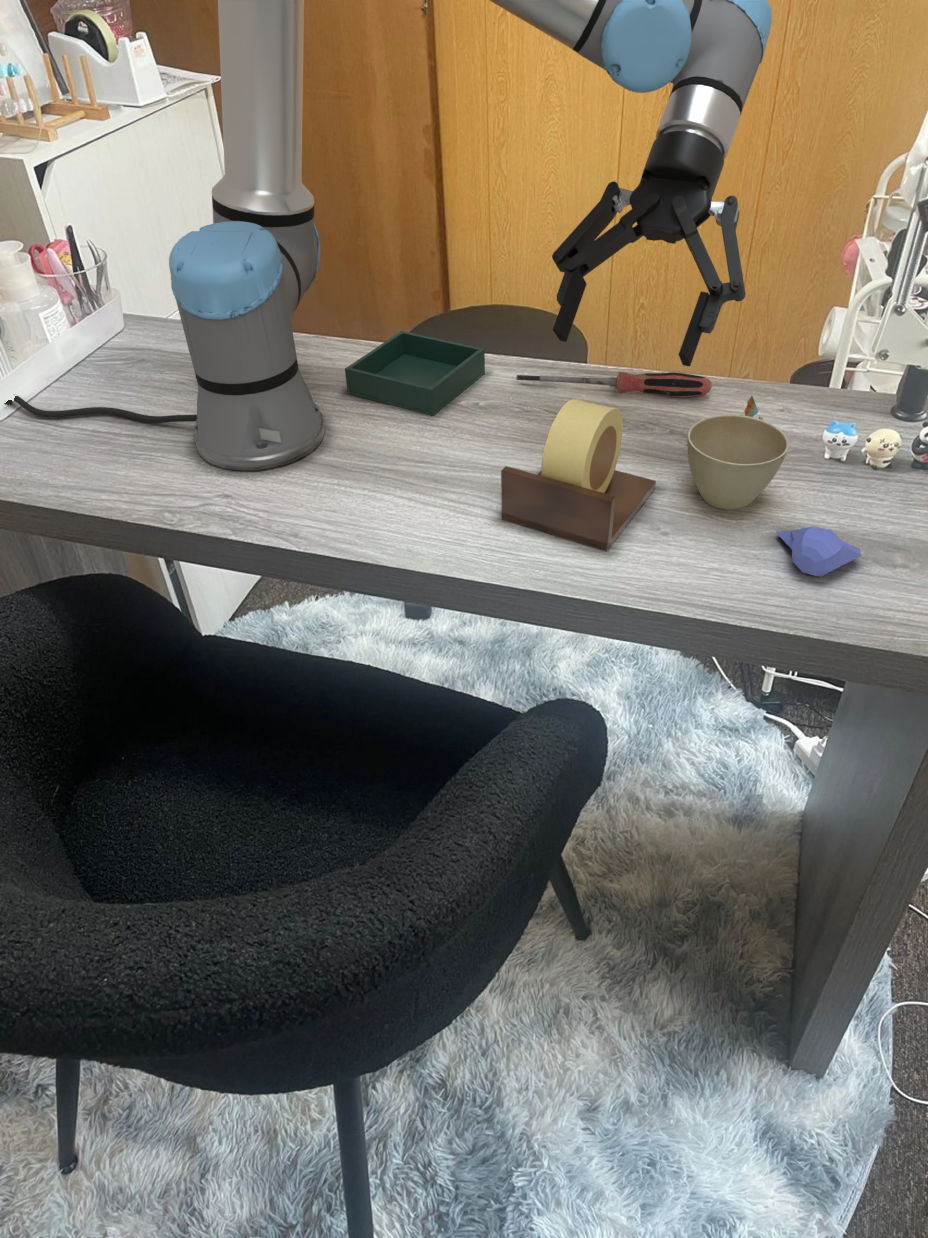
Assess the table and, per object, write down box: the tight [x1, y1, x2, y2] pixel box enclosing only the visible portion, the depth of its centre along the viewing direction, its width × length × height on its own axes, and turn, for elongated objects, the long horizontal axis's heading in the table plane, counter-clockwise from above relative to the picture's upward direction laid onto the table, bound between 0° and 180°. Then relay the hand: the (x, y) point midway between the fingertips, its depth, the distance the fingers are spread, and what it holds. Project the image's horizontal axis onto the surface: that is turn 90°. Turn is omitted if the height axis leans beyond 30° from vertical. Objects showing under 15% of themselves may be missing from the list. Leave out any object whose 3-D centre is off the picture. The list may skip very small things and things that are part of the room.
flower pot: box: [686, 413, 790, 511], centre depth 92 cm, size 10×10×7 cm
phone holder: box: [500, 465, 657, 552], centre depth 93 cm, size 12×13×6 cm
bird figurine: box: [775, 526, 862, 577], centre depth 85 cm, size 8×6×6 cm
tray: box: [344, 330, 486, 417], centre depth 116 cm, size 13×13×4 cm
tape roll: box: [540, 398, 624, 493], centre depth 90 cm, size 5×10×10 cm, turn 150°
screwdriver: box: [516, 371, 713, 398], centre depth 113 cm, size 25×3×3 cm
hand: (619, 348), depth 90 cm, fingers open, 13 cm apart
